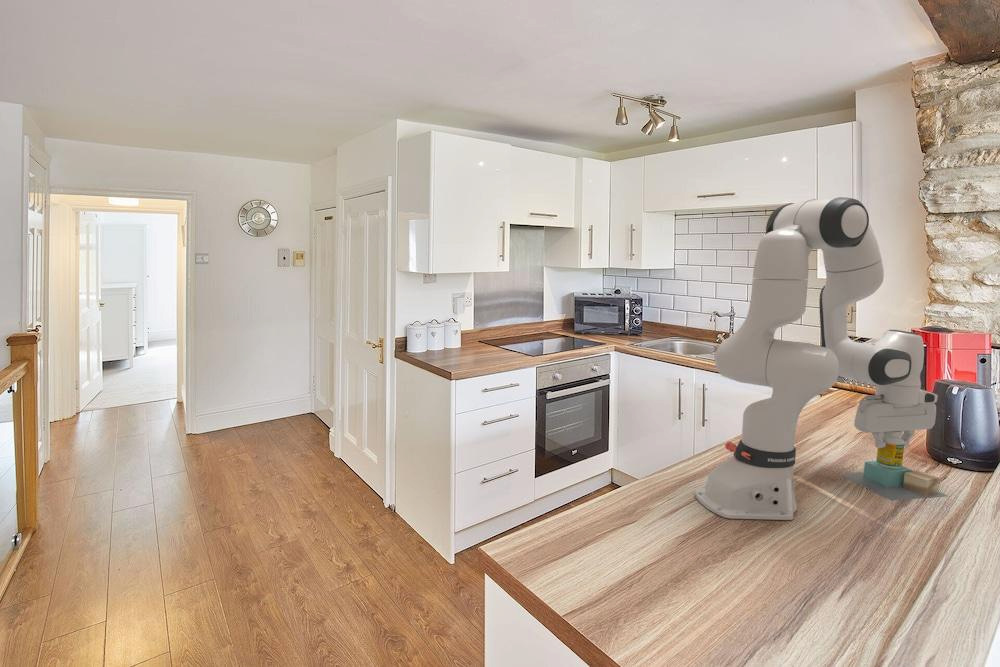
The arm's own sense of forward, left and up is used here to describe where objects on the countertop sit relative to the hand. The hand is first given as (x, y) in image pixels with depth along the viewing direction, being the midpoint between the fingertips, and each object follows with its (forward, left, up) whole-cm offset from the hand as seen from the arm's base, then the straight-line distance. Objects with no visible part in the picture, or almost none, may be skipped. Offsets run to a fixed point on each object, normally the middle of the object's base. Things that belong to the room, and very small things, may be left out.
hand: (891, 446), depth 133 cm
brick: (+3, -6, -9) cm, 11 cm away
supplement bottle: (0, 0, -5) cm, 5 cm away
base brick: (0, 0, -9) cm, 9 cm away
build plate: (-1, -2, -10) cm, 11 cm away
